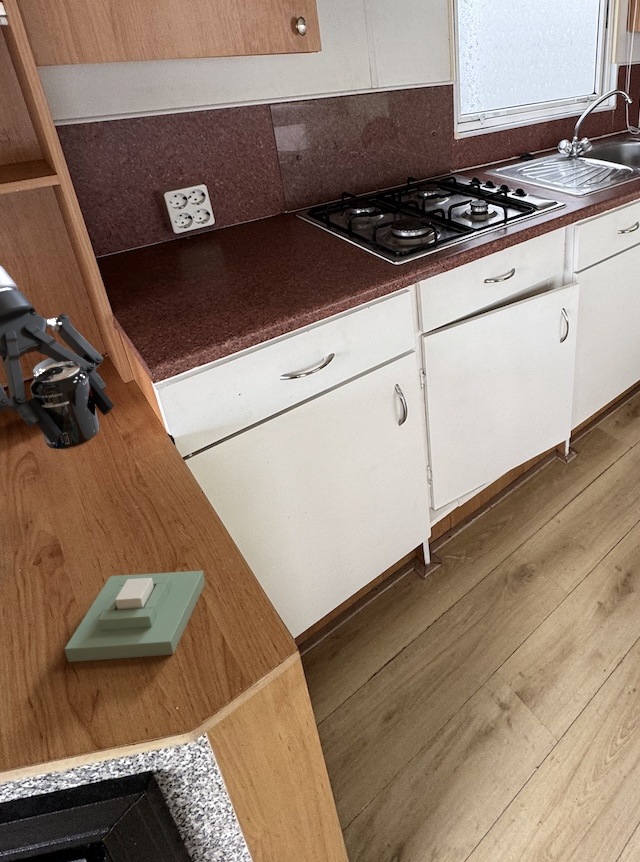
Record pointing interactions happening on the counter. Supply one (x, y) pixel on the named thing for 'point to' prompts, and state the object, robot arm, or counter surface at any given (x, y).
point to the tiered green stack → (137, 619)
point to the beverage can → (67, 402)
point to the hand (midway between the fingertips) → (83, 423)
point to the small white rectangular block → (134, 594)
